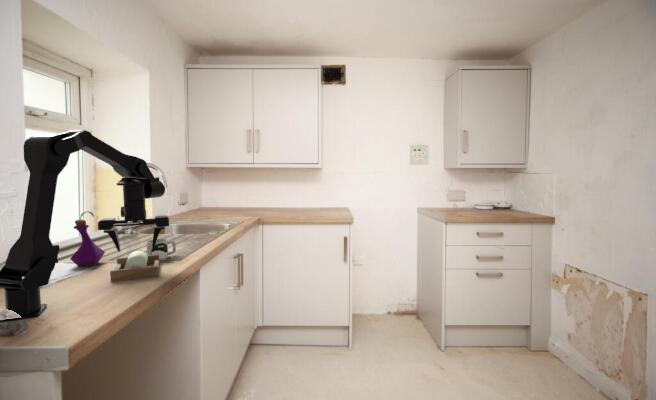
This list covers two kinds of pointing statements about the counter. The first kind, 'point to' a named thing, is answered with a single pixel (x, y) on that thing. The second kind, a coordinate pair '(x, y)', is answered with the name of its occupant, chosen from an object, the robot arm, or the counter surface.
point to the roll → (136, 260)
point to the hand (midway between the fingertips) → (136, 250)
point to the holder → (135, 269)
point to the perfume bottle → (86, 246)
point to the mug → (160, 248)
